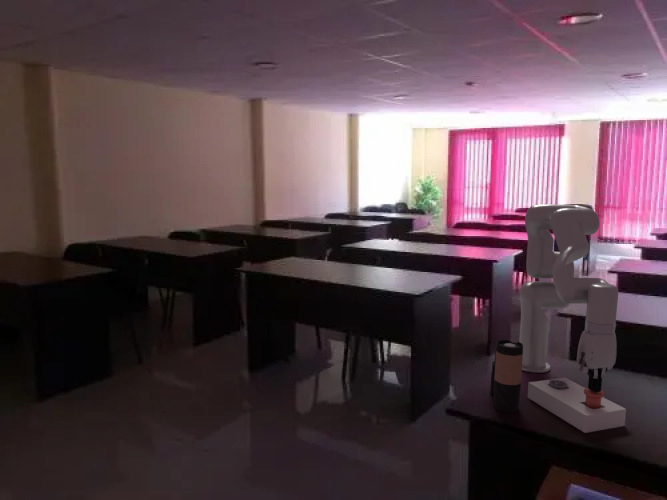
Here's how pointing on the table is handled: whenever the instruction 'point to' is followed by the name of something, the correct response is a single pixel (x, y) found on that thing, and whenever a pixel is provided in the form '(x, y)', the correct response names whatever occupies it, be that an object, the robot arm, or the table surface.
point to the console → (576, 406)
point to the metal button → (558, 384)
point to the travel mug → (508, 375)
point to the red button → (593, 398)
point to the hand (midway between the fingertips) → (594, 390)
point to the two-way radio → (493, 375)
